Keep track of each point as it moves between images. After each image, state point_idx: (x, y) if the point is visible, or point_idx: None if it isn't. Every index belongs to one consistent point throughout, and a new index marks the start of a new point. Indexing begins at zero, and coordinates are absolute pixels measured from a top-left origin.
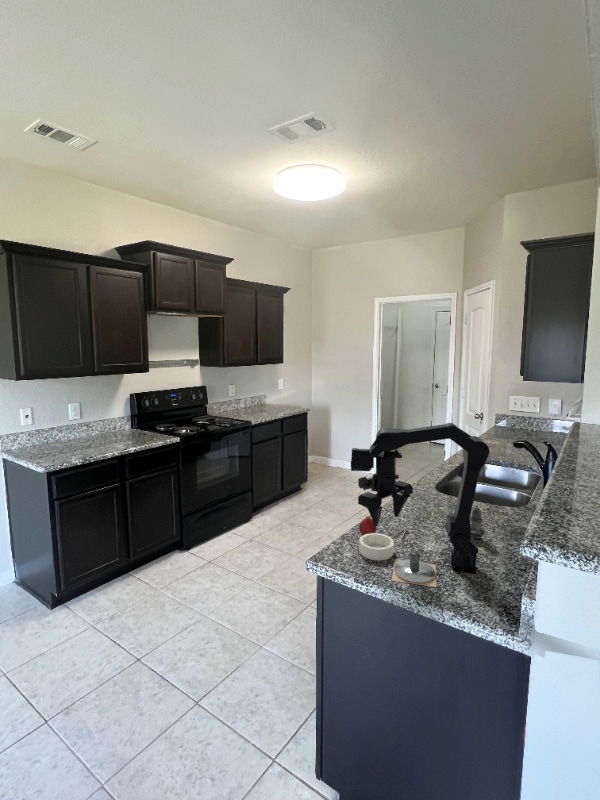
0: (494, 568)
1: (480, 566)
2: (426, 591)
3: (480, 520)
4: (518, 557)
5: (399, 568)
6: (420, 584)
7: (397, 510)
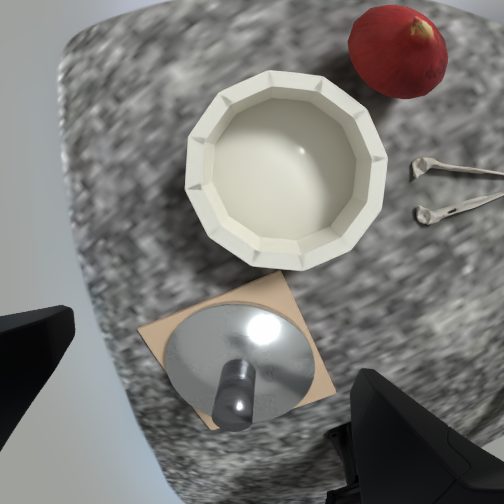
0: None
1: None
2: (178, 414)
3: None
4: None
5: (205, 331)
6: None
7: (364, 447)
